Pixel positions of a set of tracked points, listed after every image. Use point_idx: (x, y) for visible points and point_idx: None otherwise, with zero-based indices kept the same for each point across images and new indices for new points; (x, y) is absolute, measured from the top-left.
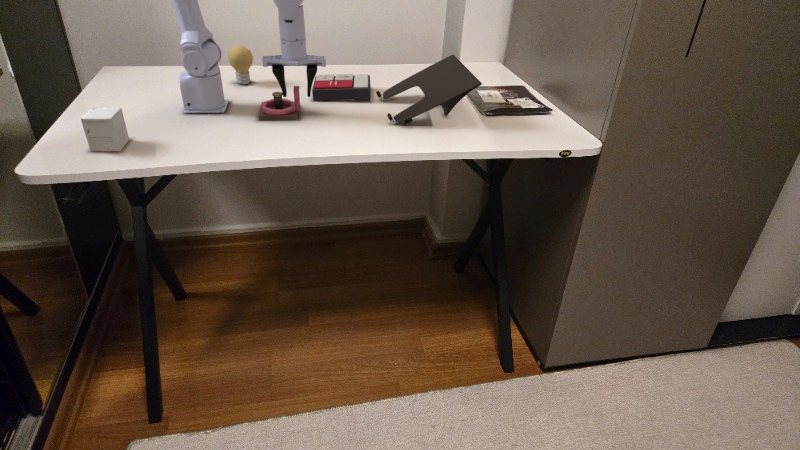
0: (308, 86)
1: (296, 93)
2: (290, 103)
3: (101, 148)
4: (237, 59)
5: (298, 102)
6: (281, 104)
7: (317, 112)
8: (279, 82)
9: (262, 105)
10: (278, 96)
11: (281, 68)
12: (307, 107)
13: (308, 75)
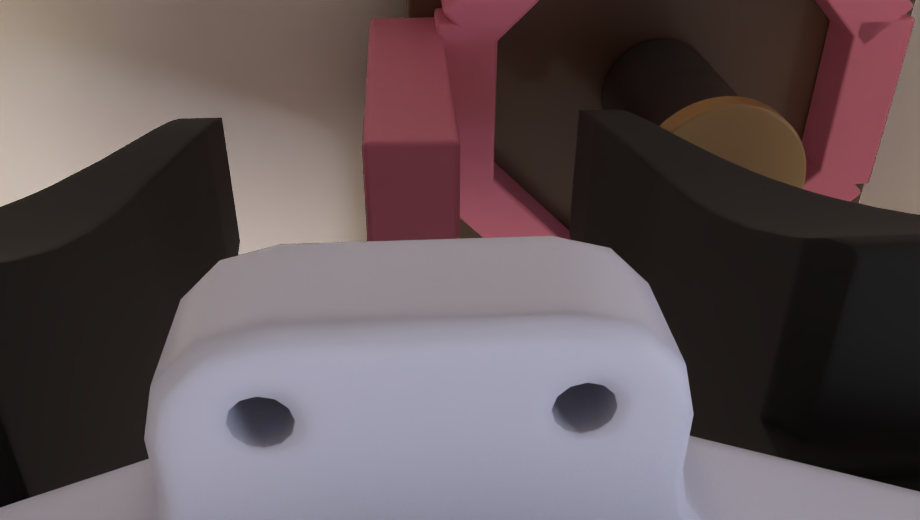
0: (139, 170)
1: (405, 114)
2: (504, 182)
3: None
4: None
5: (381, 57)
6: (633, 81)
7: (154, 90)
8: (771, 184)
9: (888, 79)
10: (709, 102)
11: (818, 448)
12: (303, 239)
13: (7, 251)
